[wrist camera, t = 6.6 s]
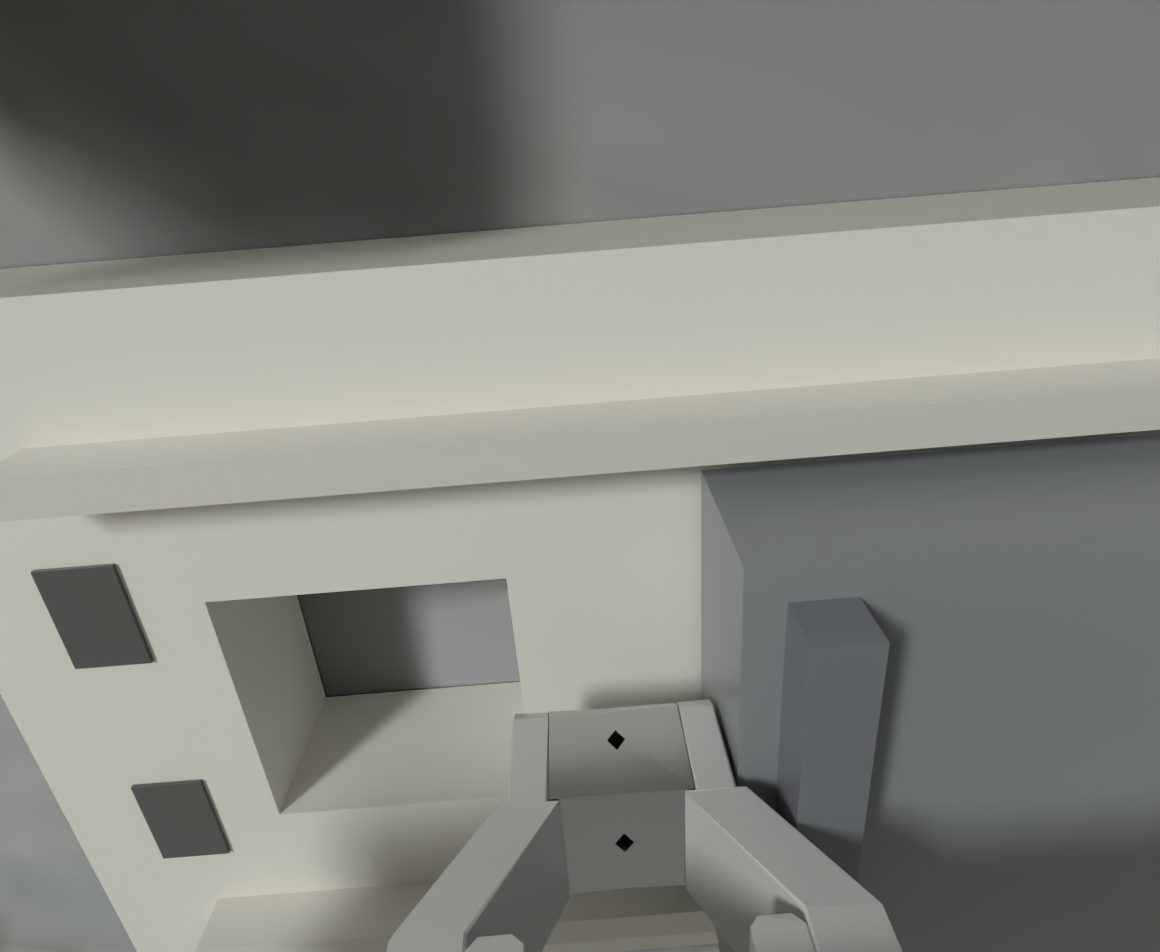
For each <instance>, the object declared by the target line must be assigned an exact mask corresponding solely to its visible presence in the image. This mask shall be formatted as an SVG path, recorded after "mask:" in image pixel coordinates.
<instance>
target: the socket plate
mask: <svg viewBox="0 0 1160 952" xmlns="http://www.w3.org/2000/svg"><path fill="white" fill-rule="evenodd" d="M1151 434H1160V177H1157V178H1144V179H1132V180H1119V181H1106V182H1094V183H1081V184H1068V185H1056V186H1043V187H1031V188H1018V189H1005V190H993V191H980V192H967V193H955V194H942V195H929V196H917V197H904V198H892V199H879V200H866V201H854V202H841V203H828V204H816V205H803V206H790V207H778V208H765V209H753V210H740V211H727V212H715V213H702V214H689V215H677V216H664V217H651V218H639V219H626V220H614V221H601V222H588V223H576V224H563V225H550V226H538V227H525V228H512V229H500V230H487V231H475V232H462V233H449V234H437V235H424V236H411V237H399V238H386V239H373V240H361V241H348V242H336V243H323V244H310V245H298V246H285V247H272V248H260V249H247V250H234V251H222V252H209V253H197V254H184V255H171V256H159V257H146V258H133V259H121V260H108V261H95V262H83V263H70V264H58V265H45V266H32V267H20V268H7V269H0V694H1V696H2V698H3V700H4V702H5V704H6V705H7V707H8V709H9V711H10V713H11V715H12V717H13V719H14V720H15V722H16V724H17V726H18V728H19V730H20V732H21V734H22V736H23V737H24V739H25V741H26V743H27V745H28V747H29V749H30V751H31V753H32V754H33V756H34V758H35V760H36V762H37V764H38V766H39V768H40V769H41V771H42V773H43V775H44V777H45V779H46V781H47V783H48V785H49V786H50V788H51V790H52V792H53V794H54V796H55V798H56V800H57V801H58V803H59V805H60V807H61V809H62V811H63V813H64V815H65V817H66V818H67V820H68V822H69V824H70V826H71V828H72V830H73V832H74V833H75V835H76V837H77V839H78V841H79V843H80V845H81V847H82V849H83V850H84V852H85V854H86V856H87V858H88V860H89V862H90V864H91V865H92V867H93V869H94V871H95V873H96V875H97V877H98V879H99V881H100V882H101V884H102V886H103V888H104V890H105V892H106V894H107V896H108V897H109V899H110V901H111V903H112V905H113V907H114V909H115V911H116V913H117V914H118V916H119V918H120V920H121V922H122V924H123V926H124V928H125V930H126V931H127V933H128V935H129V937H130V939H131V941H132V943H133V945H134V946H135V948H136V950H137V952H387V947H388V942H389V939H390V938H391V937H392V936H393V934H394V933H395V932H396V931H397V929H398V928H399V927H400V926H401V924H402V923H403V922H404V921H405V919H406V918H407V917H408V916H409V914H410V913H411V912H412V911H413V909H414V908H415V907H416V906H417V904H418V903H419V902H420V901H421V899H422V898H423V897H424V896H425V894H426V893H427V892H428V891H429V889H430V888H431V887H432V886H433V884H434V883H435V882H436V881H437V879H438V878H439V877H440V876H441V874H442V873H443V872H444V871H445V869H446V868H447V867H448V866H449V864H450V863H451V862H452V861H453V859H454V858H455V857H456V856H457V854H458V853H459V852H460V851H461V849H462V848H463V847H464V846H465V844H466V843H467V842H468V841H469V839H470V838H471V837H472V836H473V834H474V833H475V832H476V831H477V829H478V828H479V827H480V826H481V824H482V823H483V822H484V821H485V819H486V818H487V817H488V816H489V814H490V813H491V812H492V811H493V809H494V808H495V807H496V806H497V805H505V804H507V798H508V784H509V769H510V755H511V740H512V725H513V720H514V717H515V714H524V713H549V711H569V710H588V709H608V708H619V707H630V706H642V705H654V704H666V703H675V704H676V703H677V702H685V701H696V700H701V470H710V469H723V468H736V467H748V466H761V465H773V464H786V463H798V462H811V461H824V460H836V459H849V458H861V457H874V456H887V455H899V454H912V453H924V452H937V451H949V450H962V449H975V448H987V447H1000V446H1012V445H1025V444H1038V443H1050V442H1063V441H1075V440H1088V439H1100V438H1113V437H1126V436H1138V435H1151ZM504 578H506V580H507V587H508V594H509V602H510V609H511V616H512V624H513V631H514V638H515V646H516V653H517V660H518V668H519V675H520V682H511V683H498V684H486V685H473V686H461V687H448V688H436V689H423V690H410V691H398V692H385V693H373V694H360V695H348V696H335V697H326V696H325V692H324V689H323V685H322V682H321V678H320V675H319V671H318V668H317V664H316V661H315V657H314V654H313V650H312V647H311V643H310V640H309V636H308V633H307V629H306V626H305V622H304V619H303V615H302V612H301V608H300V605H299V601H298V598H297V595H303V594H315V593H328V592H341V591H353V590H366V589H378V588H391V587H403V586H416V585H428V584H441V583H454V582H466V581H479V580H491V579H504ZM569 895H570V899H569V900H568V902H567V904H566V906H565V908H564V910H563V912H562V914H561V916H560V918H559V920H558V921H557V923H556V925H555V927H554V929H553V931H552V933H551V935H550V937H549V939H548V940H547V942H546V944H545V946H544V948H543V950H542V952H622V951H634V950H647V949H659V948H671V947H684V946H696V945H709V944H718V940H717V935H716V930H715V925H714V924H713V923H712V922H711V920H710V919H709V918H708V916H707V915H706V914H705V913H704V911H703V910H702V909H701V907H700V906H699V905H698V903H697V902H696V901H695V900H694V898H693V897H692V896H691V894H690V893H689V892H688V891H687V889H686V885H677V886H655V887H634V888H620V889H611V890H601V891H592V892H582V893H573V894H569Z"/></svg>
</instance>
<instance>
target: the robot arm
mask: <svg viewBox="0 0 1160 952" xmlns="http://www.w3.org/2000/svg"><path fill="white" fill-rule="evenodd" d="M677 885H686V889H687V891H688V892H689V893H690V894H691V896H692V897H693V898H694V900H695V901H696V902H697V903H698V905H699V906H700V907H701V909H702V910H703V911H704V913H705V914H706V915H707V916H708V918H709V919H710V920H711V922H712V923H713V924H714V925H715V927H716V928H717V929H718V931H719V932H720V933H721V934H722V936H723V937H724V938H725V940H726V941H727V942H728V943H729V945H730V946H731V947H732V949H733V950H734V951H735V952H902V949H901V947H900V945H899V942H898V940H897V938H896V935H895V933H894V930H893V928H892V926H891V923H890V921H889V919H888V916H887V914H886V912H885V909H884V907H883V904H882V903H881V902H879V901H878V900H877V899H876V898H875V897H874V896H873V895H871V894H870V893H869V892H868V891H867V890H866V889H864V888H863V887H862V886H861V885H860V884H859V883H858V882H856V881H855V880H854V879H853V878H852V877H851V876H849V875H848V874H847V873H846V872H845V871H844V870H843V869H841V868H840V867H839V866H838V865H837V864H836V863H835V862H833V861H832V860H831V859H830V858H829V857H828V856H826V855H825V854H824V853H823V852H822V851H821V850H820V849H818V848H817V847H816V846H815V845H814V844H813V843H811V842H810V841H809V840H808V839H807V838H806V837H805V836H803V835H802V834H801V833H800V832H799V831H798V830H796V829H795V828H794V827H793V826H792V825H791V824H790V823H788V822H787V821H786V820H785V819H784V818H783V817H782V816H780V815H779V814H778V813H777V812H776V811H775V810H773V809H772V808H771V807H770V806H769V805H768V804H767V803H765V802H764V801H763V800H762V799H761V798H760V797H758V796H757V795H756V794H755V793H754V792H753V791H752V790H750V789H749V788H748V787H747V786H745V787H736V783H735V780H734V776H733V773H732V769H731V766H730V762H729V759H728V755H727V751H726V748H725V744H724V741H723V737H722V734H721V730H720V727H719V723H718V719H717V716H716V712H715V709H714V705H713V703H712V702H711V701H710V700H709V699H707V700H696V701H685V702H677V703H676V704H675V703H666V704H654V705H642V706H630V707H619V708H608V709H588V710H569V711H549V713H524V714H515V717H514V720H513V725H512V740H511V755H510V769H509V784H508V798H507V804H505V805H497V806H496V807H495V808H494V809H493V811H492V812H491V813H490V814H489V816H488V817H487V818H486V819H485V821H484V822H483V823H482V824H481V826H480V827H479V828H478V829H477V831H476V832H475V833H474V834H473V836H472V837H471V838H470V839H469V841H468V842H467V843H466V844H465V846H464V847H463V848H462V849H461V851H460V852H459V853H458V854H457V856H456V857H455V858H454V859H453V861H452V862H451V863H450V864H449V866H448V867H447V868H446V869H445V871H444V872H443V873H442V874H441V876H440V877H439V878H438V879H437V881H436V882H435V883H434V884H433V886H432V887H431V888H430V889H429V891H428V892H427V893H426V894H425V896H424V897H423V898H422V899H421V901H420V902H419V903H418V904H417V906H416V907H415V908H414V909H413V911H412V912H411V913H410V914H409V916H408V917H407V918H406V919H405V921H404V922H403V923H402V924H401V926H400V927H399V928H398V929H397V931H396V932H395V933H394V934H393V936H392V937H391V938H390V939H389V942H388V947H387V952H542V950H543V948H544V946H545V944H546V942H547V940H548V939H549V937H550V935H551V933H552V931H553V929H554V927H555V925H556V923H557V921H558V920H559V918H560V916H561V914H562V912H563V910H564V908H565V906H566V904H567V902H568V900H569V899H570V895H569V894H573V893H582V892H592V891H601V890H611V889H620V888H634V887H655V886H677Z"/></svg>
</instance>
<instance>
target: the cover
mask: <svg viewBox="0 0 1160 952" xmlns="http://www.w3.org/2000/svg"><path fill="white" fill-rule="evenodd" d="M707 699H709V700H710V701H711V702H712V703H713V705H714V709H715V712H716V716H717V719H718V723H719V727H720V730H721V734H722V737H723V741H724V744H725V748H726V751H727V755H728V759H729V762H730V766H731V769H732V773H733V776H734V780H735V783H736V787H745V786H747V787H748V788H749V789H750V790H752V791H753V792H754V793H755V794H756V795H757V796H758V797H760V798H761V799H762V800H763V801H764V802H765V803H767V804H768V805H769V806H770V807H771V808H772V809H773V810H775V811H776V812H777V813H778V814H779V815H780V816H782V817H783V818H784V819H785V820H786V821H787V822H788V823H790V824H791V825H792V826H793V827H794V828H795V829H796V830H798V831H799V832H800V833H801V834H802V835H803V836H805V837H806V838H807V839H808V840H809V841H810V842H811V843H813V844H814V845H815V846H816V847H817V848H818V849H820V850H821V851H822V852H823V853H824V854H825V855H826V856H828V857H829V858H830V859H831V860H832V861H833V862H835V863H836V864H837V865H838V866H839V867H840V868H841V869H843V870H844V871H845V872H846V873H847V874H848V875H849V876H851V877H852V878H853V879H854V880H855V881H856V882H858V883H859V884H860V885H861V886H862V887H863V888H864V889H866V890H867V891H868V892H869V893H870V894H871V895H873V896H874V897H875V898H876V899H877V900H878V901H879V902H881V903H882V904H883V907H884V909H885V912H886V914H887V916H888V919H889V921H890V923H891V926H892V928H893V930H894V933H895V935H896V938H897V940H898V942H899V945H900V947H901V949H902V952H1160V434H1151V435H1138V436H1126V437H1113V438H1100V439H1088V440H1075V441H1063V442H1050V443H1038V444H1025V445H1012V446H1000V447H987V448H975V449H962V450H949V451H937V452H924V453H912V454H899V455H887V456H874V457H861V458H849V459H836V460H824V461H811V462H798V463H786V464H773V465H761V466H748V467H736V468H723V469H710V470H701V700H707ZM715 930H716V935H717V940H718V944H719V949H720V952H735V951H734V950H733V949H732V947H731V946H730V945H729V943H728V942H727V941H726V940H725V938H724V937H723V936H722V934H721V933H720V932H719V931H718V929H717V928H716V927H715Z"/></svg>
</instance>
